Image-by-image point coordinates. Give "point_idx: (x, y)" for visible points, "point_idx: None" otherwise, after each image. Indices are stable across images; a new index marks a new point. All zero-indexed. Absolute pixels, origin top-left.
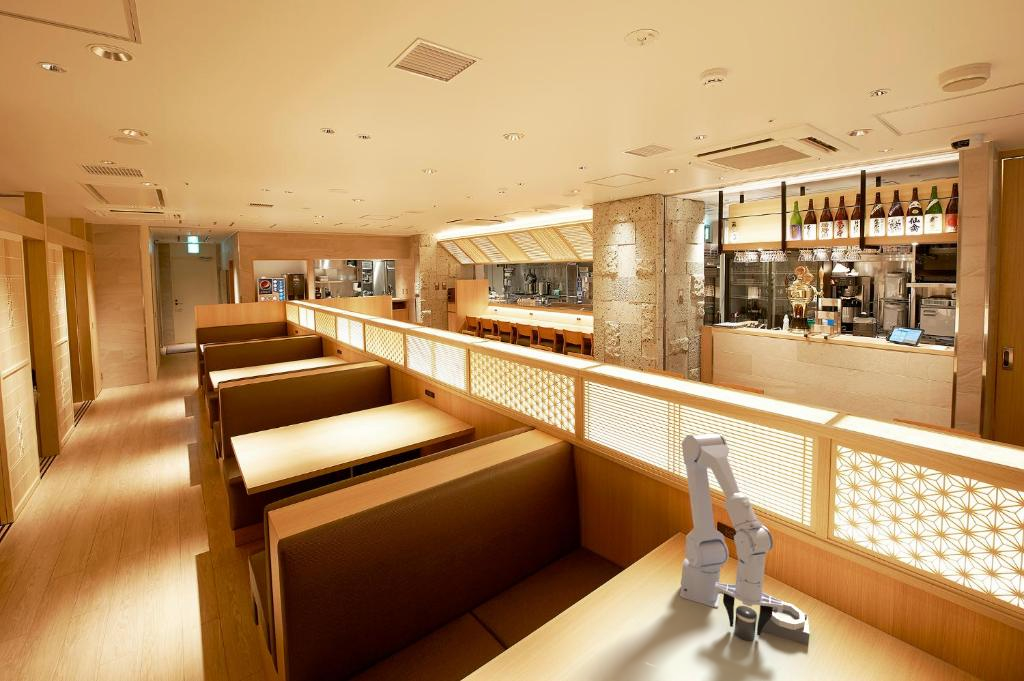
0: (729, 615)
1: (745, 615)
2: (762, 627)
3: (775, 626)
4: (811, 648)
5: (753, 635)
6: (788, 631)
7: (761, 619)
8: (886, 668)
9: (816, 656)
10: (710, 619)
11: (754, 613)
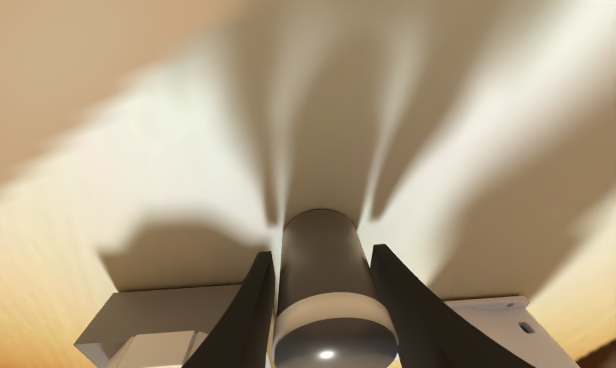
0: (427, 293)
1: (342, 335)
2: (237, 295)
3: (211, 319)
4: (103, 285)
5: (285, 244)
6: (164, 318)
7: (231, 355)
8: None
9: (70, 262)
10: (437, 252)
11: (289, 366)
